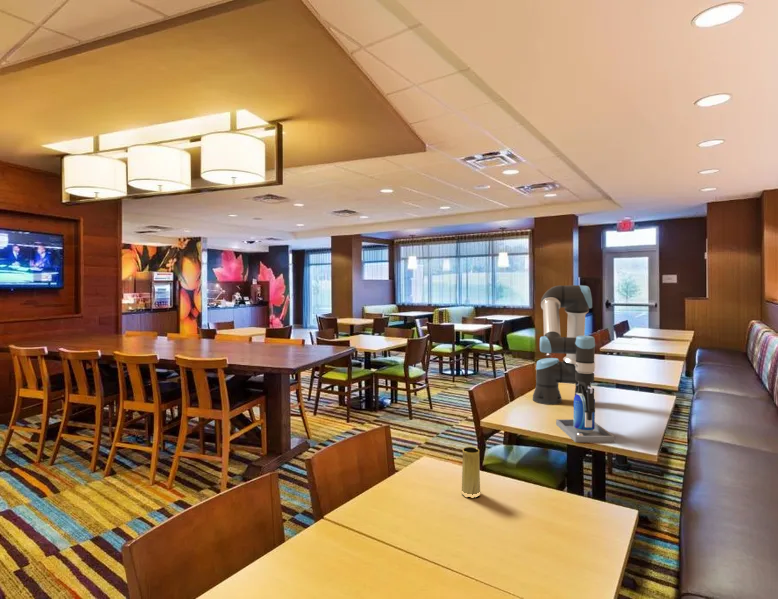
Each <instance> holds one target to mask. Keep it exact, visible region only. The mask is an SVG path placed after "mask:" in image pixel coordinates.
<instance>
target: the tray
mask: <svg viewBox="0 0 778 599" xmlns="http://www.w3.org/2000/svg"><path fill="white" fill-rule="evenodd" d="M573 420H574V419H556V420H555V421H556V422H555V426H557V427H558V428H559V429H560V430H561V431H562V432H564V433H565V435H567V436H568V437H569V438H570V439H571V441H572V440H573V442H574V443H616V439H615V438H616V437H615V435H614V434H612V433H611V432H609V431H608V430H607V429H605V428H604V427H603V426H601V425H600V424H599V423H597V422H595V428H594V430H593V431H592V432H590V433H584V432H581V433H582V434H583V435H584V436H576V434H577V433H578V432H579V431H577V430H575V428H574V426H573Z"/></svg>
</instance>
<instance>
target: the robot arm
mask: <svg viewBox="0 0 778 599" xmlns="http://www.w3.org/2000/svg"><path fill="white" fill-rule="evenodd" d="M591 291H592V290H591V289H590V287H589V286H588V285H582V284H579V285H578V284H577V285H572V284H571V285H555V286H552V287H550V288H549V289H547V290H546V291H545V293H543V295H542V297H541V299H540V307H541V310H542V319H543V320H542V321H543V336H540V338H539V351H540V352H541V353H546V354H566V355H565V356H564V357H563V358H562V360H563V361H560V359H559V358H556V357H546V358H541V359H539V360H537V361H536V367H535V370H536V372H535V373H536V374H535V378H536V379H535V380H536V381H535V382H536V383H535V388H534V391H533V394H532V401H533V402H536V403H538V404H543V405H559V404H561V403H562V402H563V401H562V400H563V398H562V395H561V392H560V389H559V384H574V385H575V386H574V387H575V388H574V396H575V395H576V393H577V392H578V393H582V395H583V396H584V397H585V407H586V411H584V412H585V427H592V412H595V413H596V401H595V402H594V399H595V388H593V387H592V386H591V385H592V384H591V383H593V382H595V373H594V372H596V371H595V368H596V366H595V365H596V364H595V353H596V352H595V351H596V348H595V347H596V342H595V341H596V340H595V337H594V336H591V335H585V330H586V314H588V313H589V311H590V309H592V308H593V296H592V292H591ZM561 308H563V309H564V312H565V313H566V314H567V324H566V327H567V328H566V331H567V332H566V336H561V323H560V322H561V321H560V309H561Z"/></svg>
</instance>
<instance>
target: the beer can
mask: <svg viewBox="0 0 778 599" xmlns="http://www.w3.org/2000/svg"><path fill="white" fill-rule="evenodd" d="M594 402H595V403H596V399H595V398H594ZM584 411H586V407H585V397H584V396H583V395H582V393H578V392H577V393H576V395H575V394H574V396H573V419H572V420H573V426H574V428H575V430H577V431H579V432H584V433H590V432H592V431H593V430H594V428H595V423H596V421H595V418H596V411H595V412H592V427H585V412H584Z"/></svg>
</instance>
